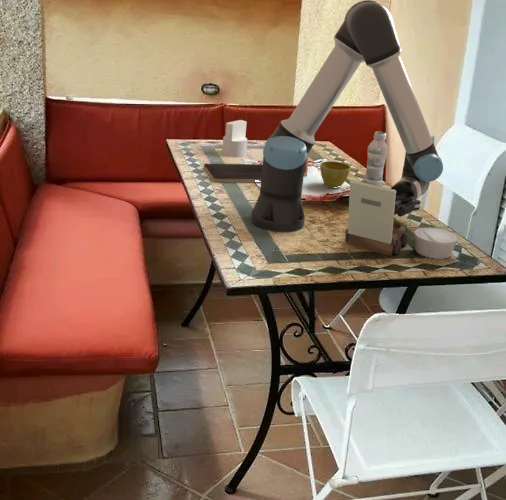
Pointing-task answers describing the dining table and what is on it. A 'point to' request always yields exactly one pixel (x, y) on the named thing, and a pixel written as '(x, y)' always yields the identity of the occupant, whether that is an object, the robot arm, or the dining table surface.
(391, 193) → the panel
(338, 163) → the flower pot
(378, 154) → the plastic bottle
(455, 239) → the ramekin
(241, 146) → the cylinder with rectangular tab
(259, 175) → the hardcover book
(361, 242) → the flatbed cart
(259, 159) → the dining table surface
